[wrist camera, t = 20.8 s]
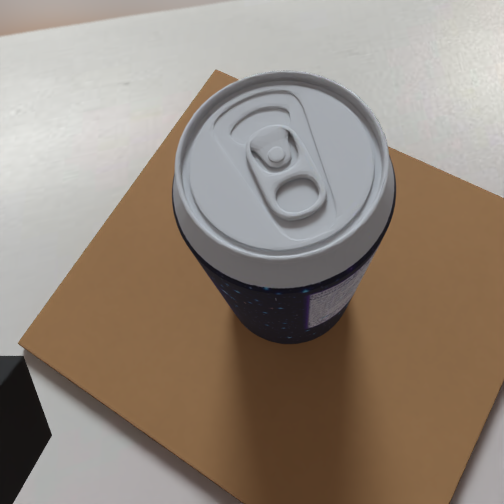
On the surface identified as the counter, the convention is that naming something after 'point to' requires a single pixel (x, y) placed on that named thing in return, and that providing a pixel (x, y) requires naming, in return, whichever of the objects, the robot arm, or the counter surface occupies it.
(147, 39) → the counter surface
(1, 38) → the counter surface
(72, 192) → the counter surface
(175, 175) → the beverage can
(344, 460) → the cork mat
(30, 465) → the robot arm
